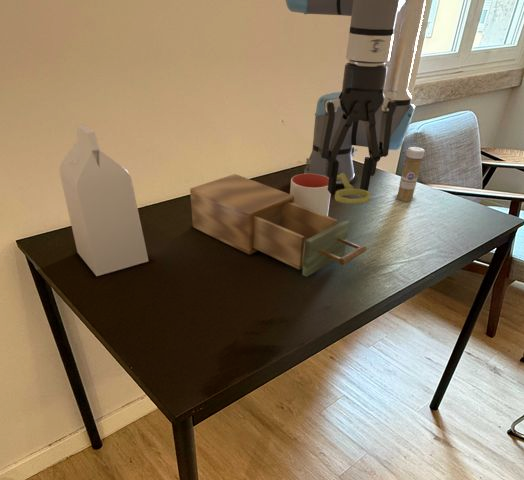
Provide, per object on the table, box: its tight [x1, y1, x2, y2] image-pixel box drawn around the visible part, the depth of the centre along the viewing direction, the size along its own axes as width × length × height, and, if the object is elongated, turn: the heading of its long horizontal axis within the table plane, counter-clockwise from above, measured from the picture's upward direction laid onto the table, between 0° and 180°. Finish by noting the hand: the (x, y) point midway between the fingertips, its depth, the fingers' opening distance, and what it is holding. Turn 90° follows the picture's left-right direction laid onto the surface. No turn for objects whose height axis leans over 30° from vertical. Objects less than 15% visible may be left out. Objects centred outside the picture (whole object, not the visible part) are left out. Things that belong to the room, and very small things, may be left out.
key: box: [334, 173, 371, 205], centre depth 94 cm, size 7×12×2 cm, turn 24°
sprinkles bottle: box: [396, 146, 425, 202], centre depth 124 cm, size 5×5×13 cm
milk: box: [59, 124, 150, 277], centre depth 90 cm, size 12×12×26 cm
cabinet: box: [189, 173, 294, 256], centre depth 107 cm, size 20×15×10 cm
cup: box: [289, 173, 331, 217], centre depth 113 cm, size 10×10×10 cm
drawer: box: [252, 201, 368, 278], centre depth 97 cm, size 25×13×8 cm, turn 47°
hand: (347, 191), depth 95 cm, fingers closed on key, 6 cm apart
